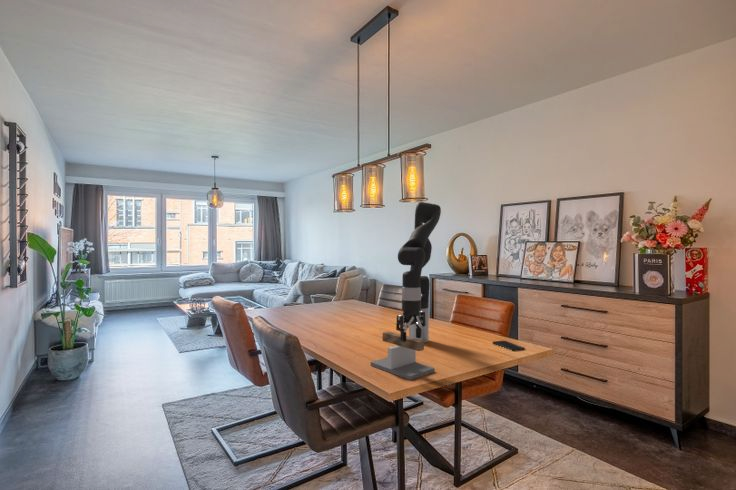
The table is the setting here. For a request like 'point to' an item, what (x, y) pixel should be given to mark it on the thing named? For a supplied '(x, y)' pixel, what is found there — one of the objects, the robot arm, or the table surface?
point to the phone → (508, 345)
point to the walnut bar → (409, 343)
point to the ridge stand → (402, 363)
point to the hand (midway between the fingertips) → (411, 339)
